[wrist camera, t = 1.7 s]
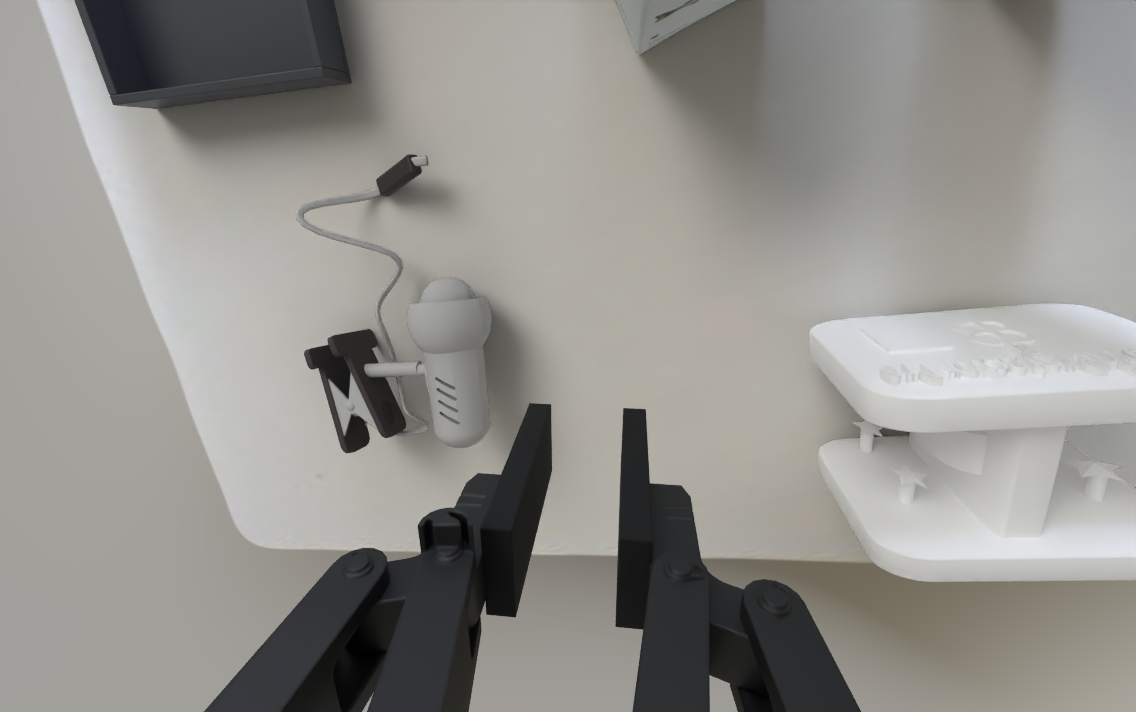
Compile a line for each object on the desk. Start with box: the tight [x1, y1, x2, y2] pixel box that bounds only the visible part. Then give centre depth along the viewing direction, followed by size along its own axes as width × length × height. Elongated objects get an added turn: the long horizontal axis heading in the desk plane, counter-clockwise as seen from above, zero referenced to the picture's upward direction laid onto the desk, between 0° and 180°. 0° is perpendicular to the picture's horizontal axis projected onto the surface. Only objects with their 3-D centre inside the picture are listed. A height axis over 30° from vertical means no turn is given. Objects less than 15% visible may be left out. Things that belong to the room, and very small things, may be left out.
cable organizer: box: [809, 303, 1136, 582], centre depth 28 cm, size 15×11×12 cm
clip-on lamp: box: [296, 155, 492, 453], centre depth 33 cm, size 12×6×18 cm
